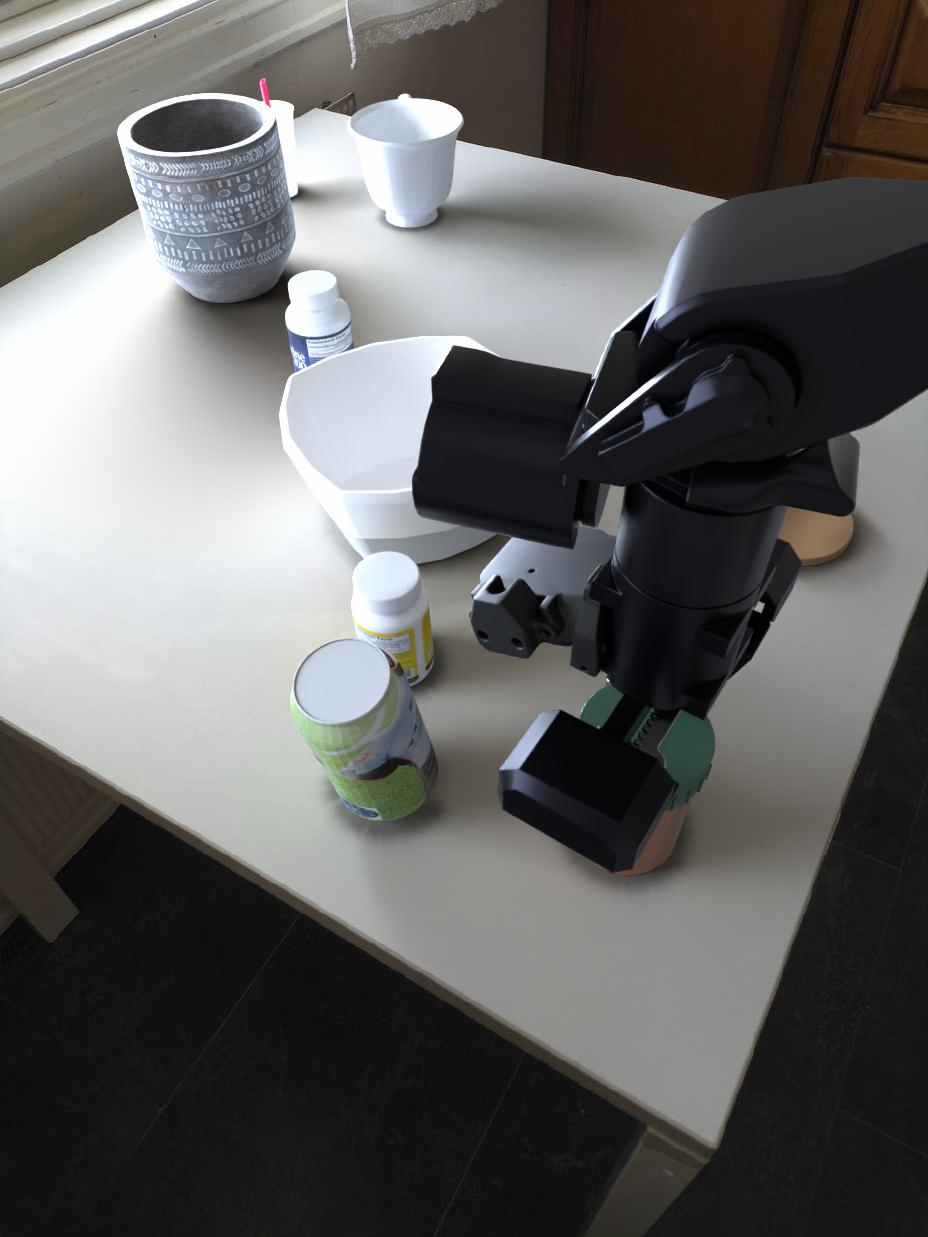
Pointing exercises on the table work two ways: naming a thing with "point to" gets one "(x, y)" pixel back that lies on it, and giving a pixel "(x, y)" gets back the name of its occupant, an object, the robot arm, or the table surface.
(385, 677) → the beverage can
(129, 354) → the table surface
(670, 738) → the jar lid
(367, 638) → the supplement bottle
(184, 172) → the planter
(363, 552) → the bowl
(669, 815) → the jam jar
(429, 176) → the teacup
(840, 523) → the coaster
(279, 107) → the cup
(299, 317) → the pill bottle
